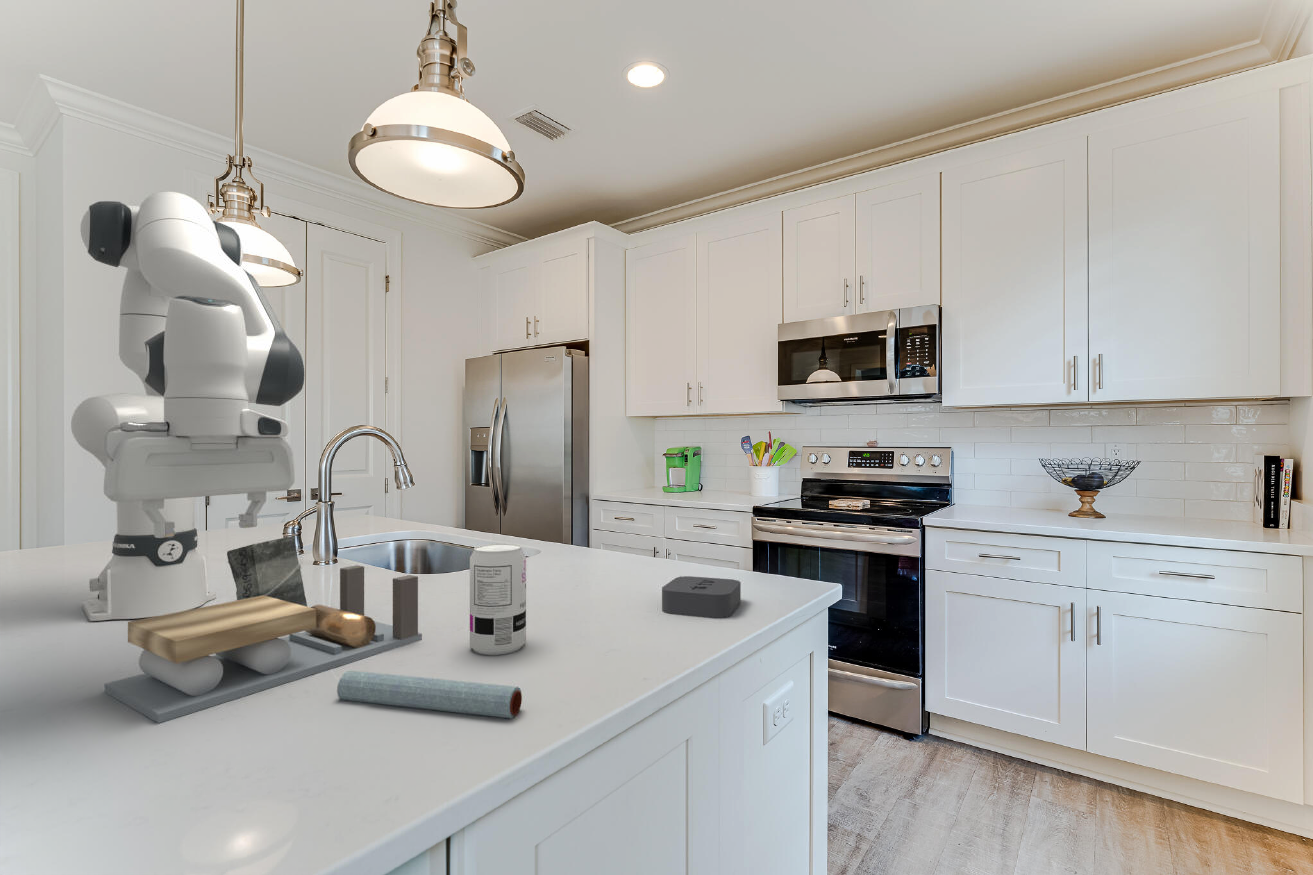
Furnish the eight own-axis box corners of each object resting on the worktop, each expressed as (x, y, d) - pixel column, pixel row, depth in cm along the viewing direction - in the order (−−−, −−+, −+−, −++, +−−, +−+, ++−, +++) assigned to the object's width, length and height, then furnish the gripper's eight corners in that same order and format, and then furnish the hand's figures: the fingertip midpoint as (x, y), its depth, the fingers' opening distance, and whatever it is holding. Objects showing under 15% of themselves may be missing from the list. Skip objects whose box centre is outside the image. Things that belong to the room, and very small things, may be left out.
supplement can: (458, 647, 94) (459, 547, 94) (506, 635, 101) (506, 541, 101) (488, 660, 89) (488, 554, 89) (536, 646, 95) (536, 547, 95)
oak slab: (127, 641, 79) (127, 622, 79) (263, 612, 93) (263, 595, 93) (176, 663, 72) (176, 641, 72) (316, 627, 85) (316, 609, 85)
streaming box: (728, 622, 108) (728, 595, 108) (658, 615, 113) (658, 590, 113) (743, 604, 120) (743, 580, 120) (679, 598, 125) (679, 575, 125)
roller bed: (104, 691, 78) (104, 611, 78) (361, 623, 107) (361, 564, 107) (158, 723, 69) (158, 632, 69) (421, 639, 98) (421, 575, 98)
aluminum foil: (523, 711, 73) (523, 682, 73) (495, 738, 67) (495, 705, 67) (355, 693, 79) (355, 666, 79) (314, 716, 72) (314, 686, 72)
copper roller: (300, 636, 96) (303, 606, 97) (328, 631, 100) (330, 602, 100) (346, 650, 90) (348, 618, 90) (374, 644, 94) (376, 614, 94)
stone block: (238, 641, 98) (262, 635, 96) (220, 550, 99) (243, 543, 97) (289, 624, 106) (312, 619, 105) (271, 541, 108) (294, 534, 106)
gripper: (115, 420, 70) (116, 546, 70) (300, 423, 87) (301, 524, 87) (93, 422, 73) (93, 541, 73) (275, 424, 91) (276, 521, 90)
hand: (208, 531), depth 80 cm, fingers open, 8 cm apart
